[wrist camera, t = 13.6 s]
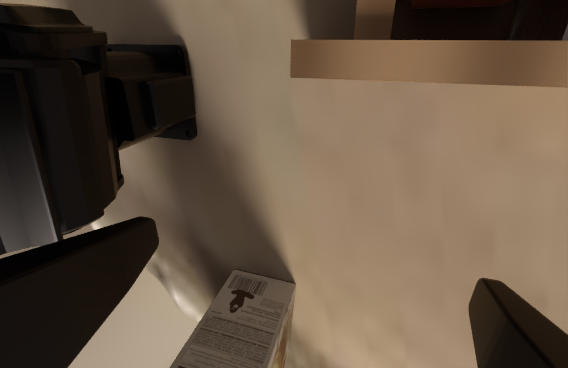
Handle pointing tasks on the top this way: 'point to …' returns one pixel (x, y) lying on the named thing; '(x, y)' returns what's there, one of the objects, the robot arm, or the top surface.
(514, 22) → the bookend
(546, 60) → the wooden display stand
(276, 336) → the coffee box
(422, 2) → the block
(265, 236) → the top surface
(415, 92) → the top surface
